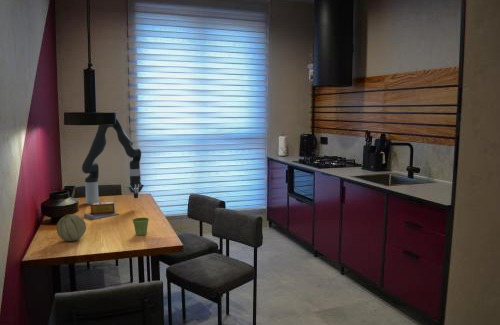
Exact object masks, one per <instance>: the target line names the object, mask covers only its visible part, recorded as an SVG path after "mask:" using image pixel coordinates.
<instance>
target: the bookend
mask: <svg viewBox="0 0 500 325" xmlns="http://www.w3.org/2000/svg"><path fill="white" fill-rule="evenodd" d="M113 216H120V213H118V212H117V213H116V212H115V213H104V214H91V213H90V214H89V213H83V217H84V218H86V219H89V220H93V221H94V220H99V219H103V218H109V217H113Z"/></svg>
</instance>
